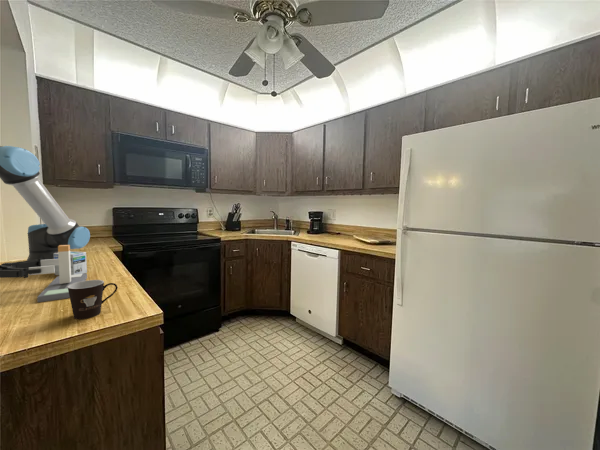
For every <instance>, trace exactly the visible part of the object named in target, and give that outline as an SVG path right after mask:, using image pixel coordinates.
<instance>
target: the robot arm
mask: <svg viewBox="0 0 600 450" xmlns="http://www.w3.org/2000/svg"><path fill="white" fill-rule="evenodd" d="M40 166H41V163H40V161H39V159H38V158H37V156H36V155H35V154H34V153H32V152H31V151H29V150H28V149H26V148H23V147H19V146H18V147H17V146H12V145H4V146H3V145H2V146H1V145H0V180H1V181H2V182H3V183H4V184H5V185H9V186H13V188H14V189H15V190H16V191H17V192H18V193H19V195H20V196H21V197H22V198H23V200H24V201H25V202H26V204H27V205H28V206H30V207H31V209H32V210H33V211H34V213H36V215H37V216H38V218H39V219H40V220H41V221H42V222H43V224H40V223H39V224H33V225H29V226H28V228H27V241H28V252H29V253H28V257H27V259H26V260H22V261H21V260H20V261H15V262H4V263H1V264H0V278H4V279H5V278H7V279H8V278H9V279H10V278H14V279H15V278H23V279H28V278H29V276H33V275H34V276H35V275H47V274H55V268H54V266H57V265H59V259H54V253H58V246H59V245H70V250H76V249H77V250H79V249H83V248H84V247H85V246H87V244H89V242H90V238H91V233H90V229H88V228H87V227H86V226H81V225H79V224H78V222H77V221H76V220H75V219H74V218H73V219H72V218H69V216H68V215H67V214H66V212H64V211H65V210H63V209H62V207H61V206H60V204H59V203H58V202H57V201H56V200H55V198H54V197H53V196H52V194H51V193H50V191H49V190H48V189H47V187H46V186H45V185H44V184H43V182H42V181H41V179H40V175H41V172H40V169H41V167H40Z"/></svg>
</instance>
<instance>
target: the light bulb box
mask: <svg viewBox="0 0 600 450" xmlns="http://www.w3.org/2000/svg"><path fill="white" fill-rule="evenodd" d="M54 259H59V258H58V253H54ZM70 259H71V275H75V274H86V273H87V274H88V266H87V264H88V263H87V252H86V251H71V250H70ZM54 268H55V273H54V276H59V265H57V266H54Z"/></svg>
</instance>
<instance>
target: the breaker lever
mask: <svg viewBox="0 0 600 450" xmlns="http://www.w3.org/2000/svg"><path fill="white" fill-rule="evenodd" d="M70 251H71V249H70V245H59V246H58V258H59V275H58V276H59V279H60V284H63V283H70V282H71V259H70Z"/></svg>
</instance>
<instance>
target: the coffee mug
mask: <svg viewBox="0 0 600 450" xmlns="http://www.w3.org/2000/svg"><path fill="white" fill-rule="evenodd" d="M108 286H114V287H115V289H114V291H113V292H112V293H111V294H109V295H107V296H106V297H105V298H104V299H103V293H104V291H105V289H106V288H107V287H108ZM117 291H118V285H117V284H116V283H114V282H110V283H109V282H108V283H107V284H105V281H104V280H102V279H89V280H86V281H81V282H77V283H73V284H71V285H69V286H68V292H69V296H70V298H69V300H70V301H69V302H70V305H71V310H72V314H73V315H72V316H73V319H75V320H86V319H91V318H95V317H97V316H99V315H100V314H101V312H102V304H103V303H105V302H106V301H107V300H108V299H109V298H111V297H112V296H113V295H114V294H115V293H116V292H117Z"/></svg>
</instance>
